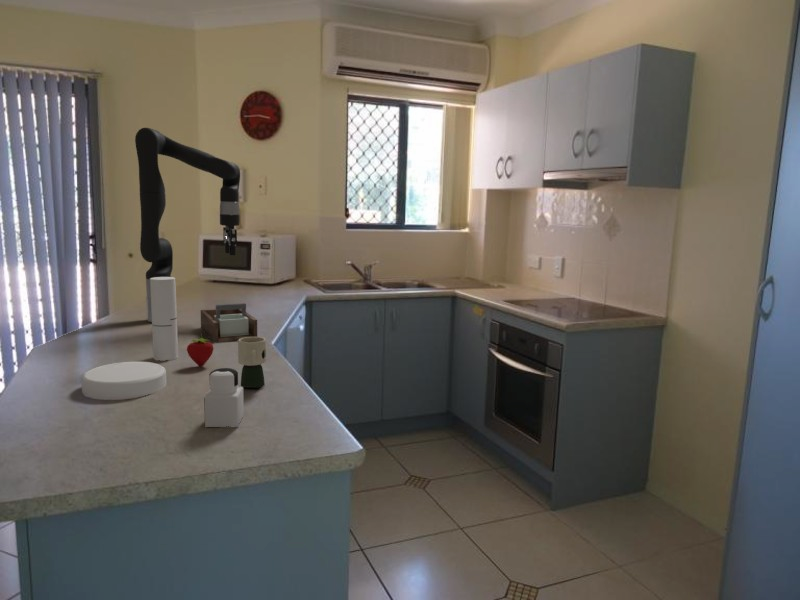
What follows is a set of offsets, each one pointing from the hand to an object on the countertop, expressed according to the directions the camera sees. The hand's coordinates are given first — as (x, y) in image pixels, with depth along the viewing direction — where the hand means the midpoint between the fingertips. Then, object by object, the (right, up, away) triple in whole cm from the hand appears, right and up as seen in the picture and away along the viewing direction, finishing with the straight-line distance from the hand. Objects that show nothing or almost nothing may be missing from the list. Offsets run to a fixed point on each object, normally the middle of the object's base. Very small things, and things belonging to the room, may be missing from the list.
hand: (230, 254), depth 229 cm
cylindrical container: (-5, -37, -51) cm, 63 cm away
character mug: (+29, -42, -76) cm, 91 cm away
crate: (+7, -31, -20) cm, 37 cm away
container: (-4, -42, -79) cm, 90 cm away
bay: (+4, -31, -15) cm, 35 cm away
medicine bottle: (+29, -46, -101) cm, 114 cm away
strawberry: (+9, -38, -59) cm, 71 cm away
